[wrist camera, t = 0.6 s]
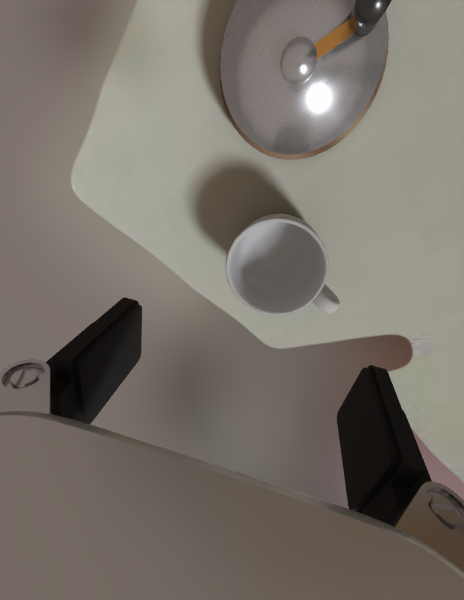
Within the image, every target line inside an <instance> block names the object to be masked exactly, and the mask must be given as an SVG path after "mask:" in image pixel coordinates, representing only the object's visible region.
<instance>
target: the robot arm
mask: <svg viewBox="0 0 464 600" xmlns="http://www.w3.org/2000/svg"><path fill="white" fill-rule="evenodd" d="M141 329H142V307H141V306H140V305H139V303H138V301H136V300H132V299H128V298H122V299H121V300H120V301H119V302H118V303H116V304H115V305H114V306H113V307H112V308H111V309H109V310H108V311H107V312H106V313H105V314H103V315H102V316H101V317H100V318H99V319H98V320H96V321H95V322H94V323H92V324H91V325H89V326H88V327H87V328H86V329H85V330H84V331H82V332H81V333H80V334H79V335H78V336H76V337H75V338H74V339H73V340H72V341H71V342H69V343H68V344H67V345H66V346H65V347H63V348H62V349H61V350H60V351H59V352H58V353H56V354H55V355H54V356H53V357H52V358H51V359H49V360H48V361H47V362H43V361H41V360H35V359H30V360H23V361H19V362H16V363H14V364H12V365H10V366H8V367H6V368H5V369H3V370H2V371H1V372H0V600H464V500H463V499H462V498H460V497H459V496H458V495H457V494H456V493H455V492H454V491H452V490H451V489H450V488H448V487H446V486H444V485H442V484H440V483H437V482H433V481H431V478H430V476H429V473H428V470H427V468H426V465H425V463H424V460H423V458H422V455H421V453H420V450H419V448H418V445H417V442H416V440H415V437H414V435H413V432H412V430H411V427H410V425H409V422H408V419H407V417H406V415H405V413H404V411H403V410H402V408H401V405H400V403H399V400H398V397H397V395H396V392H395V390H394V387H393V384H392V382H391V379H390V377H389V374H388V372H387V370H386V369H383V368H379V367H375V366H372V365H370V366H368V368H363V369H362V370H361V372H360V374H359V376H358V377H357V379H356V381H355V383H354V384H353V386H352V388H351V390H350V392H349V393H348V395H347V397H346V399H345V401H344V402H343V404H342V406H341V407H340V409H339V411H338V414H337V424H338V431H339V439H340V445H341V454H342V461H343V468H344V476H345V483H346V492H347V499H348V506H349V509H347V508H344V507H341V506H338V505H335V504H332V503H330V502H327V501H324V500H321V499H318V498H315V497H312V496H309V495H306V494H303V493H300V492H297V491H294V490H291V489H288V488H285V487H282V486H279V485H276V484H273V483H270V482H267V481H264V480H261V479H258V478H255V477H251V476H249V475H246V474H243V473H240V472H236V471H233V470H230V469H227V468H224V467H221V466H218V465H215V464H212V463H209V462H206V461H202V460H199V459H196V458H194V457H190V456H187V455H184V454H181V453H178V452H175V451H172V450H169V449H166V448H162V447H160V446H156V445H153V444H150V443H147V442H144V441H141V440H137V439H135V438H131V437H128V436H125V435H122V434H119V433H116V432H113V431H109V430H106V429H103V428H99V427H96V426H93V425H89V424H90V423H91V422H92V421H93V420H94V418H95V417H96V416H97V415H98V413H99V412H100V411H101V409H102V408H103V407H104V406H105V404H106V403H107V402H108V400H109V399H110V397H111V396H112V395H113V394H114V392H115V391H116V390H117V388H118V387H119V386H120V384H121V383H122V382H123V380H124V379H125V378H126V376H127V375H128V374H129V373H130V371H131V370H132V369H133V367H134V366H135V365H136V363H137V362H138V360H139V359H140V356H141V332H142V331H141Z"/></svg>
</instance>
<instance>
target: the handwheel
mask: <svg viewBox="0 0 464 600" xmlns="http://www.w3.org/2000/svg"><path fill="white" fill-rule="evenodd" d="M390 2H391V0H237V2H236V4H235V6H234V8H233V10H232V12H231V15H230V17H229V20H228V23H227V26H226V29H225V33H224V37H223V43H222V49H221V61H220V71H221V83H222V89H223V94H224V97H225V101H226V104H227V106H228V109H229V112H230V114H231V116H232V117H233V119H234V121H235V123H236V124H237V126H238V127H239V128H240V130H241V131H242V132H243V133H244V134H245V135H246V136H247V137H248V138H249V139H250V140H251V141H253V142H254V143H255V144H257V145H259V146H260V147H262V148H264V149H266V150H269V151H271V152H275V153H279V154H288V155H290V154H302V153H307V152H310V151H314V150H317V149H319V148H321V147H323V146H325V145H327V144H329V143H330V142H332V141H334V140H335V139H337V138H338V137H339V136H340V135H342V134H343V133H344V132H345V131H346V130H347V129H348V128H349V127H350V126H351V125H352V124H353V123H354V122H355V121H356V120H357V118H358V117H359V116H360V115H361V113H362V112H363V110H364V109H365V107H366V106H367V104H368V103H369V101H370V99H371V97H372V95H373V93H374V91H375V89H376V87H377V84H378V81H379V79H380V76H381V73H382V69H383V66H384V62H385V56H386V50H387V37H388V29H387V16H386V9H387V7H388V6H389V4H390Z"/></svg>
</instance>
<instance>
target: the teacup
mask: <svg viewBox="0 0 464 600" xmlns="http://www.w3.org/2000/svg"><path fill="white" fill-rule="evenodd" d="M328 263H329V261H328V256H327V252H326V249H325V246H324V245H323V243H322V241H321V240H320V238H319V237H318V235H317V234H316V232H315V231H314V230H313V229H312V227H311V226H310V225H308V224H307V223H306V222H305V221H303V220H301V219H300V218H297V217H295V216H292V215H288V214H271V215H266V216H264V217H261V218H259V219H257V220H255V221H254V222H252V223H251V224H250V225H249V226H247V227H246V228H245V229H244V230H243V231H242V232H241V233H240V234H239V235H238V236H237V237H236V239H235V240H234V241H233V243H232V245H231V247H230V249H229V251H228V254H227V258H226V275H227V280H228V283H229V285H230V287H231V289H232V291H233V293H234V294H235V295H236V297H237V298H238V299H239V300H240V301H241V302H242V303H243V304H244V305H246V306H247V307H249V308H250V309H253V310H255V311H257V312H259V313H263V314H267V315H285V314H290V313H293V312H296V311H298V310H300V309H302V308H303V307H305V306H306V305H308V304H309V303H311V302H313V303H314V304H315V305H316V306H317V307H318V308H319V309H321V310H322V311H324V312H326V313H333V312H335V311H336V310H337V309H338V307H339V305H340V302H339V299H338V298H337V296H336V295H335V294H334V293H333V292H332V291H331V290H330V289H329V288H328V287H327V286H326V285H325V282H326V279H327V274H328Z"/></svg>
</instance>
